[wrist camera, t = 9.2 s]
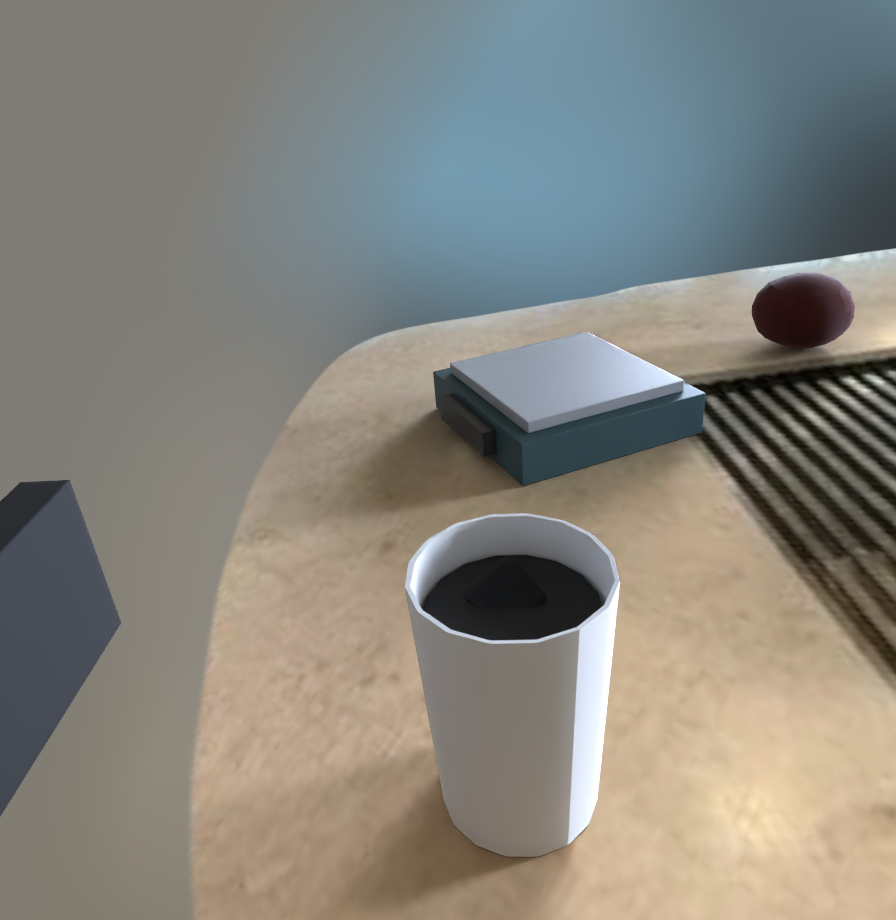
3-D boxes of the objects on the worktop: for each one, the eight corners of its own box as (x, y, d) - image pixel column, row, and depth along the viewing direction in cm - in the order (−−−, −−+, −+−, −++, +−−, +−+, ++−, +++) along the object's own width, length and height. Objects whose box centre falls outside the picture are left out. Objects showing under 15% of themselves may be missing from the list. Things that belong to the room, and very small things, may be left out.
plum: (732, 332, 68) (740, 266, 66) (825, 326, 68) (836, 259, 65) (763, 362, 62) (773, 290, 59) (865, 354, 62) (880, 282, 59)
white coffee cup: (399, 765, 29) (368, 557, 25) (537, 692, 32) (533, 492, 28) (495, 908, 24) (479, 680, 20) (648, 806, 27) (667, 585, 22)
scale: (508, 490, 47) (506, 436, 45) (424, 410, 59) (420, 364, 57) (702, 432, 52) (706, 381, 50) (589, 369, 63) (589, 325, 62)
